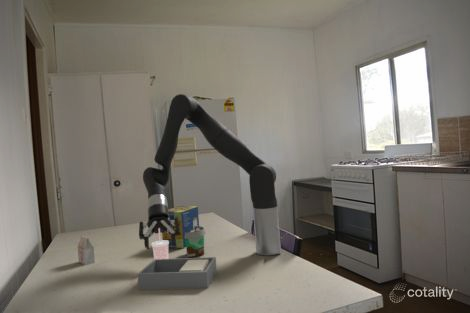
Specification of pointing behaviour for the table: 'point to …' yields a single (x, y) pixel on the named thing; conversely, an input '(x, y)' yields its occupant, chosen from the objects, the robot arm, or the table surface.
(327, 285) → the table surface
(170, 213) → the protein box
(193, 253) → the food container
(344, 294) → the table surface
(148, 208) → the robot arm
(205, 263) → the beige rectangular block
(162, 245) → the beverage cup
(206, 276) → the tray
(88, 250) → the small milk carton
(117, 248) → the table surface
